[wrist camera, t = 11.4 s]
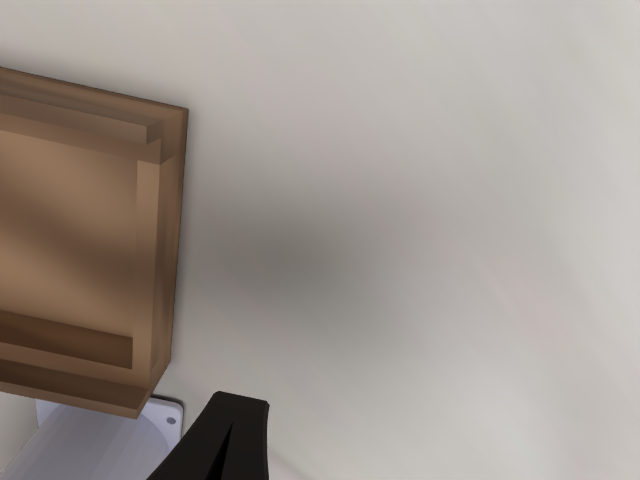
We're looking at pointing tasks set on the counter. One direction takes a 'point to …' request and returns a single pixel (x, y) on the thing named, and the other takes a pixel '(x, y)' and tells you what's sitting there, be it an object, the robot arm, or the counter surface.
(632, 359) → the counter surface
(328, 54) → the counter surface
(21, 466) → the robot arm
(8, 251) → the walnut box
